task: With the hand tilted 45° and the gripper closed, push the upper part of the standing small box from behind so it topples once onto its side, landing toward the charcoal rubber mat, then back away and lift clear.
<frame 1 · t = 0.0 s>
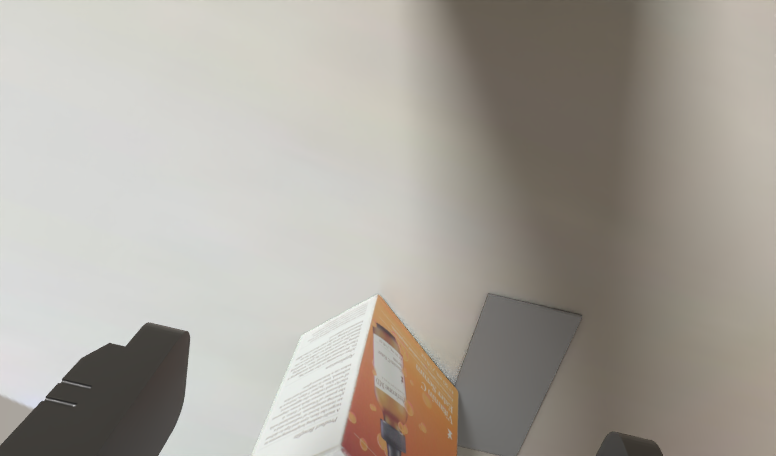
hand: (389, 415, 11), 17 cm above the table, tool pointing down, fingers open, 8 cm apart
small box: (380, 359, 32), on the table, touching charcoal mat
charcoal mat: (502, 381, 32), on the table
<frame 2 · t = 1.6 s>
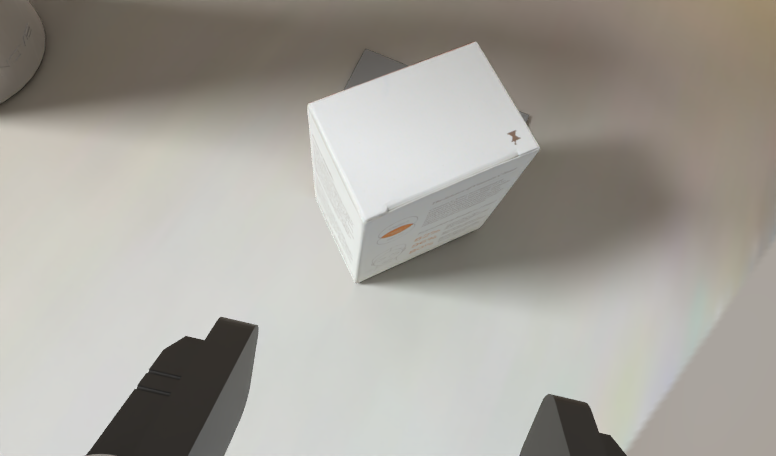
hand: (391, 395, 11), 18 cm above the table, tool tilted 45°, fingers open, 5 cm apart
small box: (397, 215, 32), on the table, touching charcoal mat
charcoal mat: (432, 114, 35), on the table
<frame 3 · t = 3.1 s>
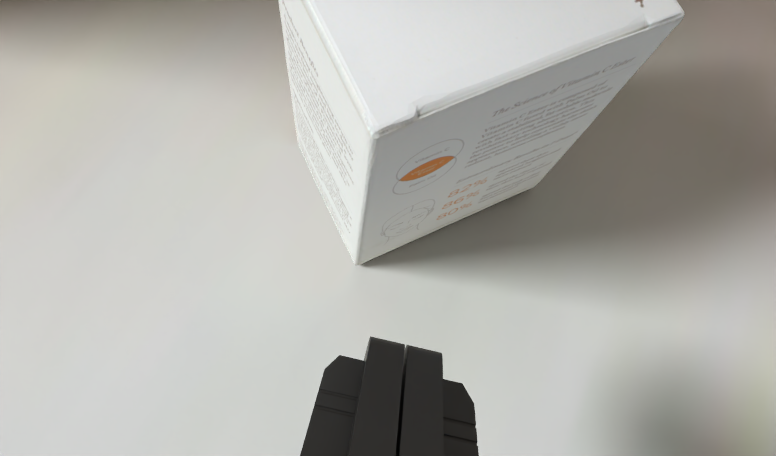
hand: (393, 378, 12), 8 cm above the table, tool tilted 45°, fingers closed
small box: (415, 169, 23), on the table, touching charcoal mat
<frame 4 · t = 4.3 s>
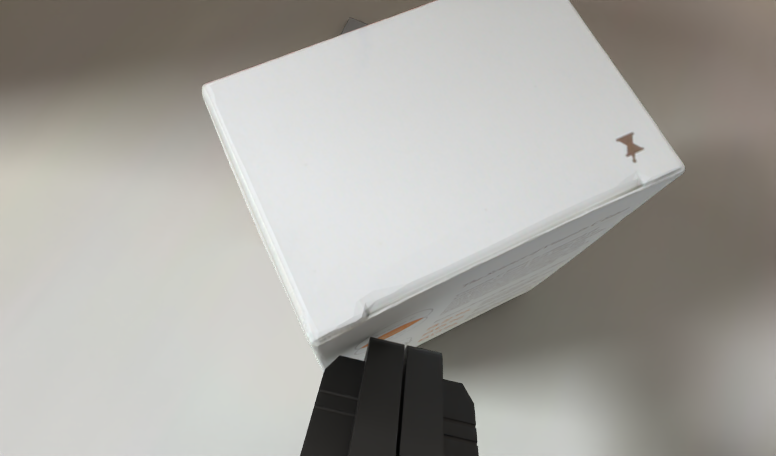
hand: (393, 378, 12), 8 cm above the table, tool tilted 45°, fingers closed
small box: (398, 272, 21), on the table, touching charcoal mat, gripper
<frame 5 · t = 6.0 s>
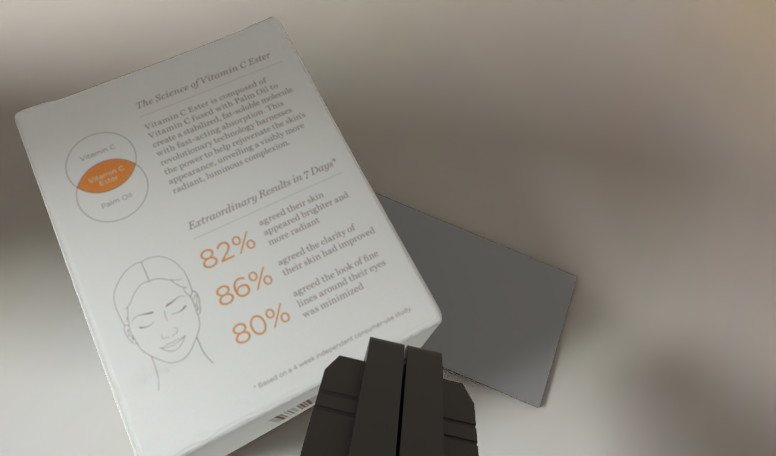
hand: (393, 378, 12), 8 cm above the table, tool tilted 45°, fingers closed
small box: (313, 410, 16), point 3 cm above the table, touching charcoal mat
charcoal mat: (415, 280, 21), on the table
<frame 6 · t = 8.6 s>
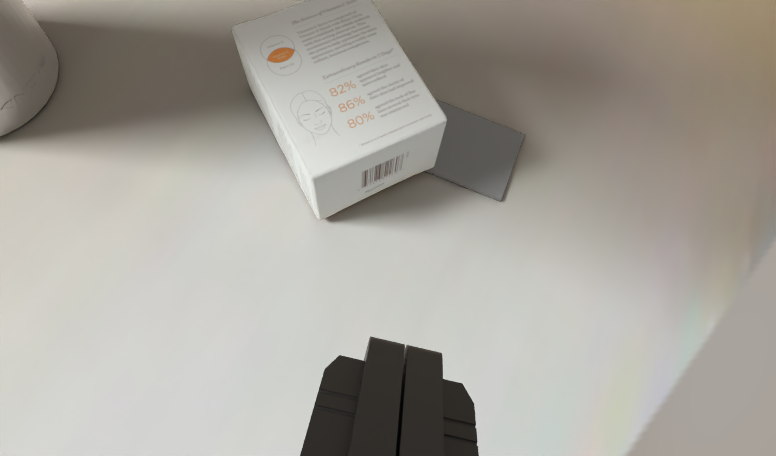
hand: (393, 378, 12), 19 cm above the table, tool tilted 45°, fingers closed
small box: (381, 177, 31), point 3 cm above the table, touching charcoal mat
charcoal mat: (430, 135, 36), on the table
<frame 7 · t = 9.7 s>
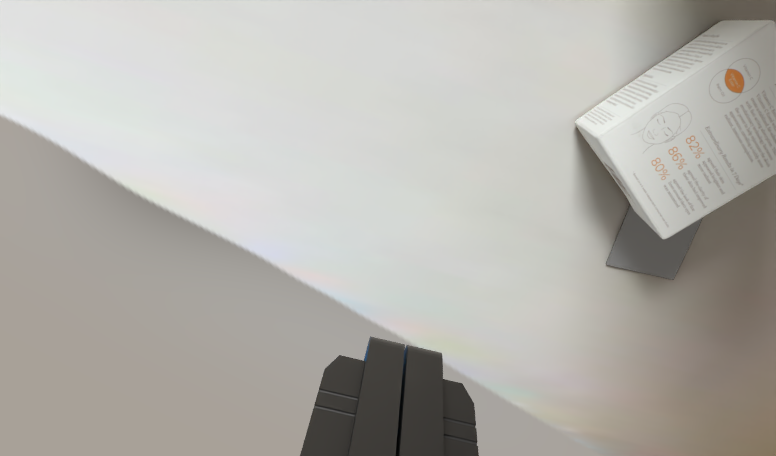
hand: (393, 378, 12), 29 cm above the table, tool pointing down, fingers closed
small box: (612, 180, 36), point 3 cm above the table, touching charcoal mat
charcoal mat: (669, 202, 39), on the table
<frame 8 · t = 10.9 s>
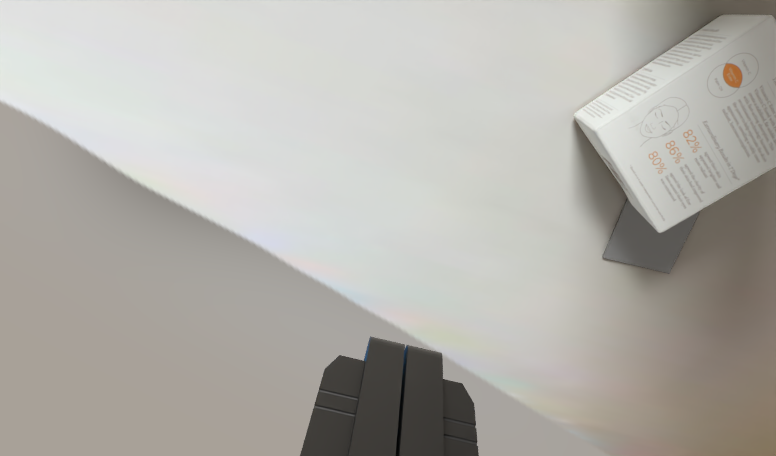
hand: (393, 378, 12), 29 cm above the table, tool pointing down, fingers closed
small box: (610, 173, 36), point 3 cm above the table, touching charcoal mat
charcoal mat: (666, 196, 40), on the table
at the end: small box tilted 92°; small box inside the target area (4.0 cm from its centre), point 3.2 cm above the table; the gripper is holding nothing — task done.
